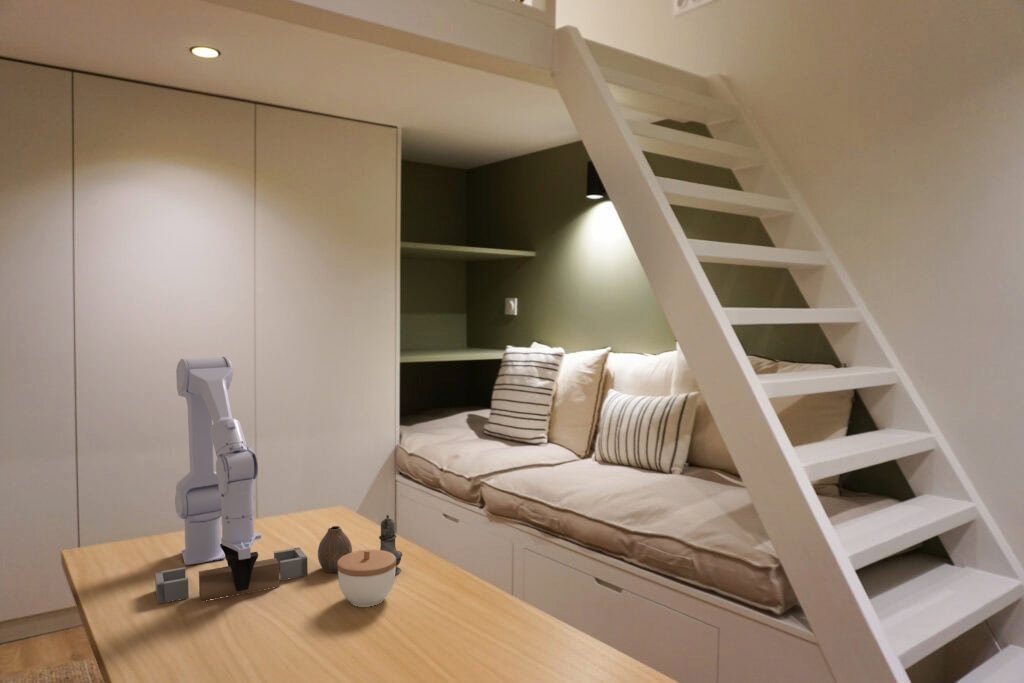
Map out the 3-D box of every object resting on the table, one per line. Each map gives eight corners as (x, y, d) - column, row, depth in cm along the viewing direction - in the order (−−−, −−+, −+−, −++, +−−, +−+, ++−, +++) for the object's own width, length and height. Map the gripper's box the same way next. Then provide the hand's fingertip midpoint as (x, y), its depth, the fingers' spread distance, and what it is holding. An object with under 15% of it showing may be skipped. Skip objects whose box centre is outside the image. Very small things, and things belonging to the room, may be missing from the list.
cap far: (274, 568, 145) (273, 551, 145) (299, 564, 147) (299, 547, 147) (281, 580, 139) (280, 562, 139) (307, 575, 141) (307, 557, 141)
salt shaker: (407, 568, 145) (407, 511, 144) (394, 579, 139) (393, 520, 139) (382, 565, 147) (382, 509, 146) (368, 575, 141) (367, 517, 140)
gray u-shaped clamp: (155, 590, 134) (155, 572, 134) (185, 585, 136) (184, 567, 136) (157, 604, 128) (157, 585, 128) (188, 598, 130) (188, 579, 130)
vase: (356, 563, 148) (356, 522, 147) (345, 576, 141) (345, 533, 140) (325, 562, 148) (324, 522, 148) (312, 575, 142) (312, 532, 141)
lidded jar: (407, 594, 132) (407, 545, 132) (373, 617, 122) (373, 565, 122) (361, 584, 137) (361, 537, 136) (325, 606, 127) (324, 556, 126)
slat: (199, 597, 131) (198, 571, 131) (276, 582, 138) (275, 557, 138) (201, 603, 129) (200, 576, 128) (279, 588, 136) (278, 562, 135)
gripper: (267, 521, 128) (268, 593, 129) (253, 501, 141) (254, 567, 142) (226, 527, 125) (227, 601, 126) (215, 507, 137) (217, 574, 138)
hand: (239, 584), depth 133 cm, fingers open, 5 cm apart
